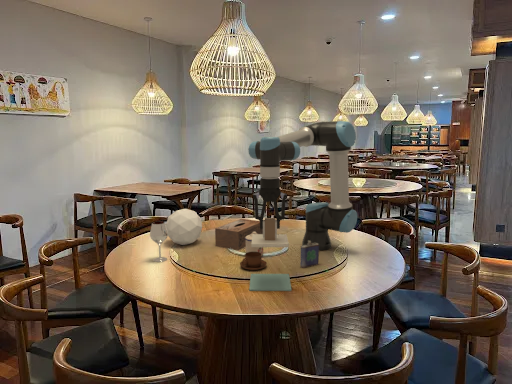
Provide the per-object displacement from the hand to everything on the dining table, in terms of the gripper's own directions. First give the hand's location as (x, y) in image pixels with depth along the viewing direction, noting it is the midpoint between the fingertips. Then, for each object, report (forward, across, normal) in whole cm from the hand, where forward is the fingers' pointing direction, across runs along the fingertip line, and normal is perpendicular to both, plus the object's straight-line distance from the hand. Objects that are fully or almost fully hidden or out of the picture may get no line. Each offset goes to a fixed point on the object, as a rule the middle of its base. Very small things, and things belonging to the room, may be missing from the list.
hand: (269, 236), depth 148 cm
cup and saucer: (+19, +7, -18) cm, 27 cm away
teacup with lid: (+19, +7, -36) cm, 41 cm away
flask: (+19, -18, -20) cm, 33 cm away
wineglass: (+19, +52, -27) cm, 62 cm away
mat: (+19, 0, 0) cm, 19 cm away
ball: (+19, +46, -54) cm, 74 cm away
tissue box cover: (+19, +16, -57) cm, 62 cm away
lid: (+2, 0, 0) cm, 2 cm away
